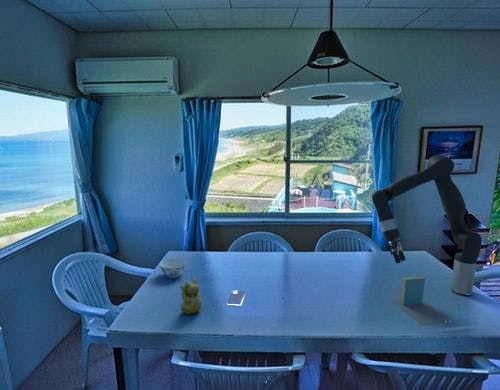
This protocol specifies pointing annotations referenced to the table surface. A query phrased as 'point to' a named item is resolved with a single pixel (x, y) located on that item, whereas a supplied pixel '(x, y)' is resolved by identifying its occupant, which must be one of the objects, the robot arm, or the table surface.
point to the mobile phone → (236, 298)
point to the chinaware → (173, 266)
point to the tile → (412, 290)
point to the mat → (422, 313)
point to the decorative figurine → (190, 297)
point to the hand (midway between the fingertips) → (401, 261)
